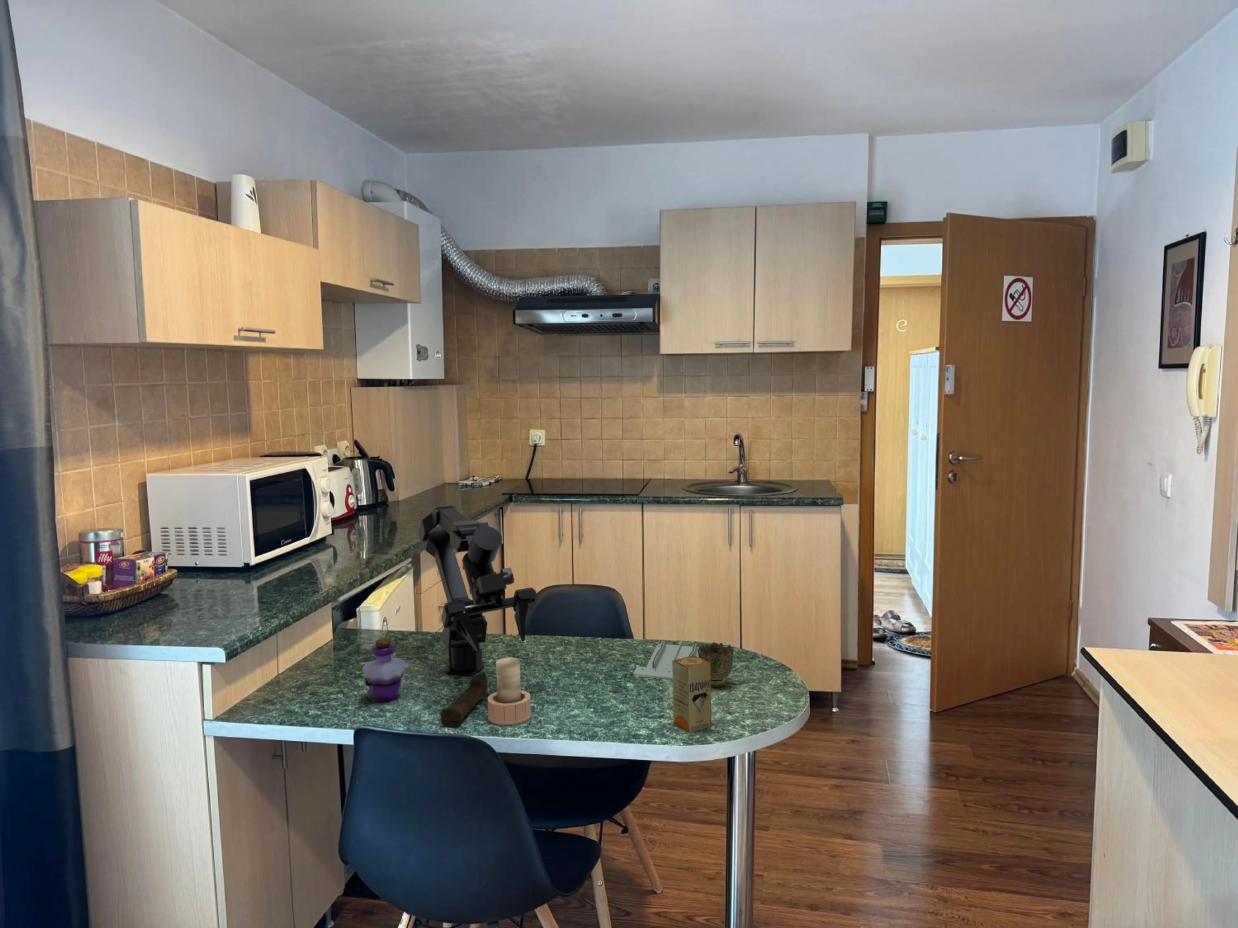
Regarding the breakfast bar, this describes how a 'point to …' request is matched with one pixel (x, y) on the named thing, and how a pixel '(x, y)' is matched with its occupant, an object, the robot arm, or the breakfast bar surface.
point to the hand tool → (465, 702)
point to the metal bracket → (665, 660)
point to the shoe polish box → (691, 693)
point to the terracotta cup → (509, 710)
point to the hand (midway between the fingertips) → (501, 645)
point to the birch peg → (508, 680)
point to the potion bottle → (384, 672)
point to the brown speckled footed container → (717, 661)
